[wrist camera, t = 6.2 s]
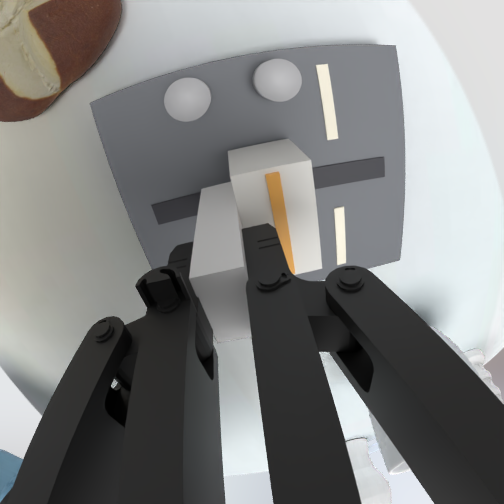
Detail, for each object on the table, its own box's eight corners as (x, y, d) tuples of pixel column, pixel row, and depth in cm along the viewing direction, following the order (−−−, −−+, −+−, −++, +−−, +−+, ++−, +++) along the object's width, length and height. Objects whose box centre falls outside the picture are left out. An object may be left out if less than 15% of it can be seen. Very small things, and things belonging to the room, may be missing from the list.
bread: (-27, 21, 8) (-72, 23, 4) (107, -72, 7) (78, -103, 3) (3, 144, 14) (-43, 169, 10) (145, 63, 13) (116, 58, 9)
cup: (381, 429, 43) (404, 498, 30) (364, 448, 49) (382, 508, 36) (326, 442, 42) (344, 518, 30) (315, 459, 48) (329, 523, 35)
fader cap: (248, 237, 17) (256, 285, 13) (227, 150, 14) (230, 177, 10) (301, 226, 17) (323, 270, 13) (288, 138, 14) (312, 161, 10)
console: (175, 292, 21) (170, 327, 18) (103, 99, 14) (77, 106, 11) (387, 245, 21) (410, 272, 18) (378, 47, 13) (410, 44, 10)
